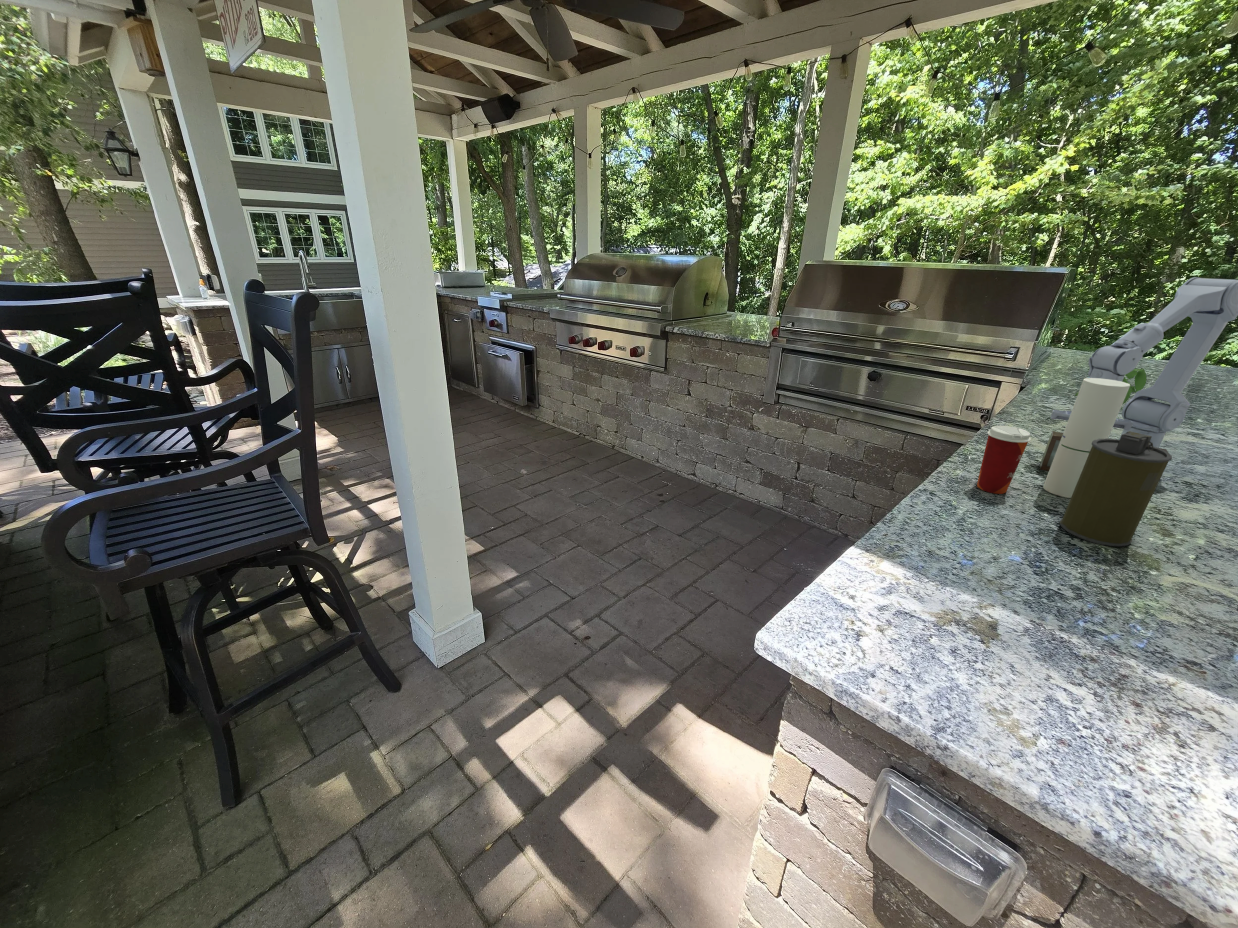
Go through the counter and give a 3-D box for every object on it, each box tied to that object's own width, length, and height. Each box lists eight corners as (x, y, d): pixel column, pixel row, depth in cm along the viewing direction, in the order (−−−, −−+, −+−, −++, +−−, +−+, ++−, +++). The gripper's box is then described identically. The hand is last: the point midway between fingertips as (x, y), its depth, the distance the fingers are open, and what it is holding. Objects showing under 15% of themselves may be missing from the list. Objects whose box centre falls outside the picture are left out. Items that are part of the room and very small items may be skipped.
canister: (1115, 552, 89) (1164, 449, 82) (1048, 526, 98) (1086, 430, 90) (1142, 537, 94) (1191, 438, 86) (1076, 513, 103) (1114, 421, 95)
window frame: (1039, 464, 126) (1052, 430, 122) (1149, 485, 115) (1166, 449, 111) (1039, 469, 123) (1052, 435, 120) (1152, 491, 112) (1170, 454, 108)
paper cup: (1019, 497, 109) (1040, 437, 104) (980, 494, 111) (999, 435, 105) (1001, 482, 116) (1020, 425, 111) (965, 479, 118) (982, 423, 112)
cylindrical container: (1077, 487, 114) (1121, 380, 104) (1089, 500, 108) (1136, 388, 98) (1039, 482, 116) (1078, 376, 107) (1048, 494, 111) (1090, 384, 101)
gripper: (1059, 396, 120) (1040, 449, 125) (1143, 407, 112) (1118, 463, 117) (1058, 390, 125) (1040, 441, 130) (1138, 400, 117) (1115, 454, 122)
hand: (1077, 451), depth 124 cm, fingers closed
